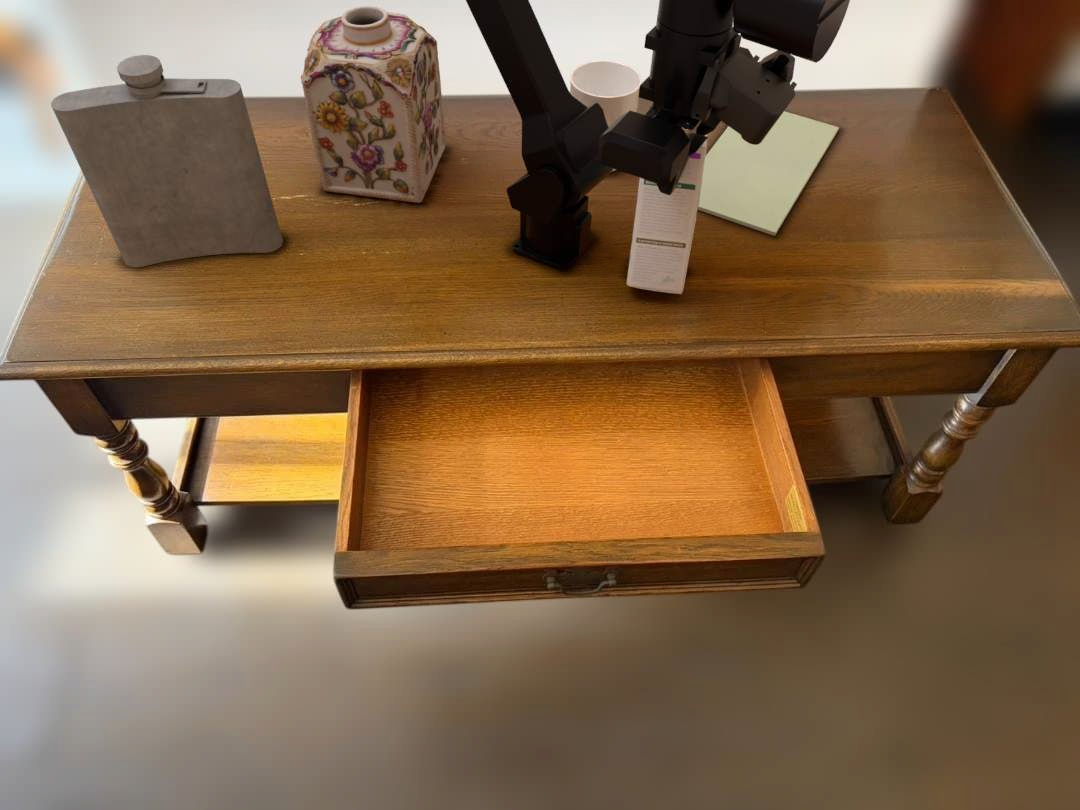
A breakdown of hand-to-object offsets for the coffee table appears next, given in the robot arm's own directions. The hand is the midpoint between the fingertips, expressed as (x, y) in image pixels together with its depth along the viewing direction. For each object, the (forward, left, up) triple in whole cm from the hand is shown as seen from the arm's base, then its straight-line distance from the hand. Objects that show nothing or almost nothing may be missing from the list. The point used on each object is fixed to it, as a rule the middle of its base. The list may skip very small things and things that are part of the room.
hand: (666, 191), depth 75 cm
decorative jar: (-35, +3, -12) cm, 37 cm away
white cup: (-15, +18, -12) cm, 27 cm away
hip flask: (-43, -18, -12) cm, 48 cm away
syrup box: (0, +1, -11) cm, 11 cm away
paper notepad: (+2, +27, -12) cm, 30 cm away
